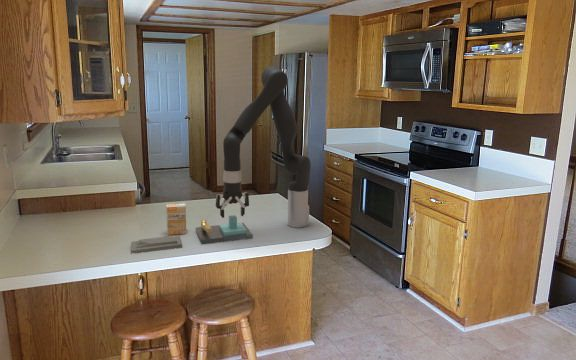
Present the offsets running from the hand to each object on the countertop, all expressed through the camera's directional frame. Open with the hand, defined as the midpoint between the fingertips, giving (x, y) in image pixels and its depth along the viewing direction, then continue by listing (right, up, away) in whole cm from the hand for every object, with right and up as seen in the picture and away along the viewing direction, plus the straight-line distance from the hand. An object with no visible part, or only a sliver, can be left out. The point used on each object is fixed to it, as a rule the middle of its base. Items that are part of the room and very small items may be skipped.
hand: (232, 216), depth 204 cm
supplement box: (-25, -8, +4) cm, 27 cm away
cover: (0, -6, +2) cm, 7 cm away
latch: (-11, -7, -1) cm, 13 cm away
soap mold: (-30, -12, -11) cm, 34 cm away
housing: (-4, -8, +2) cm, 10 cm away
